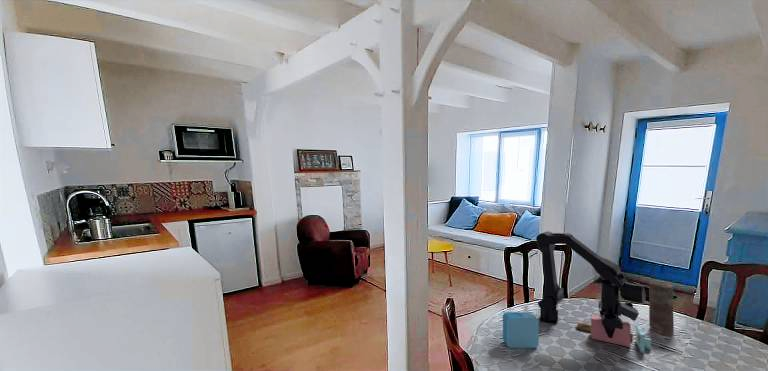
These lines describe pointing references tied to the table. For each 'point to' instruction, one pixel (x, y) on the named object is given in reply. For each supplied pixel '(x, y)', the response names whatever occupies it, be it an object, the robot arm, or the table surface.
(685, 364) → the table surface
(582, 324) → the rail
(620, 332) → the boxed book
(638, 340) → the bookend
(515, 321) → the data package
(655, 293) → the brown tall block
